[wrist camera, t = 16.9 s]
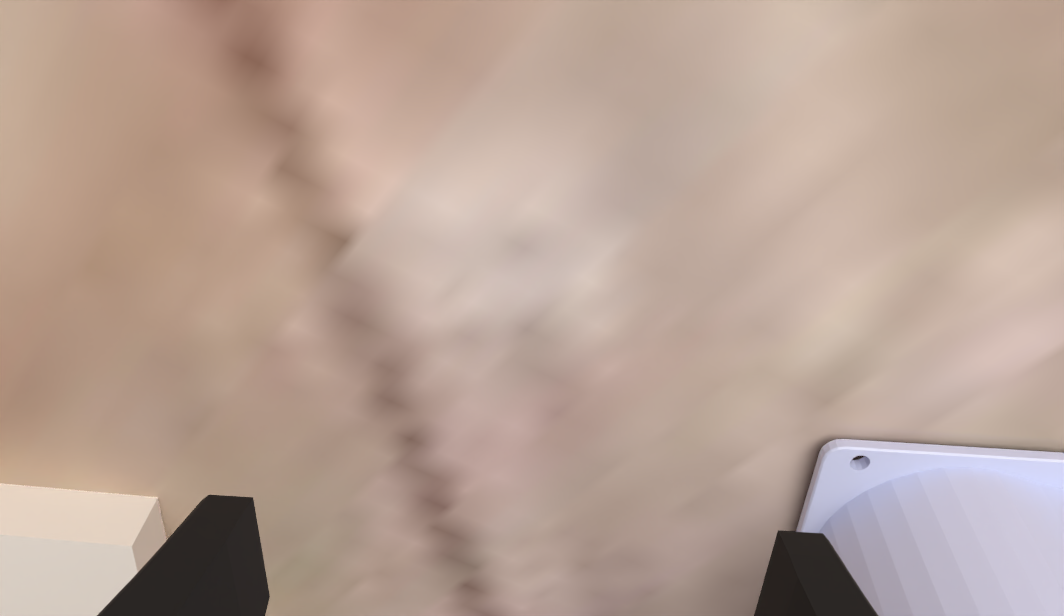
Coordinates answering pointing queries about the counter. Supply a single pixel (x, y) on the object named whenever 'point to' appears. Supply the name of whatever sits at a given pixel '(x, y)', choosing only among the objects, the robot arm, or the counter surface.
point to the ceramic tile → (71, 548)
